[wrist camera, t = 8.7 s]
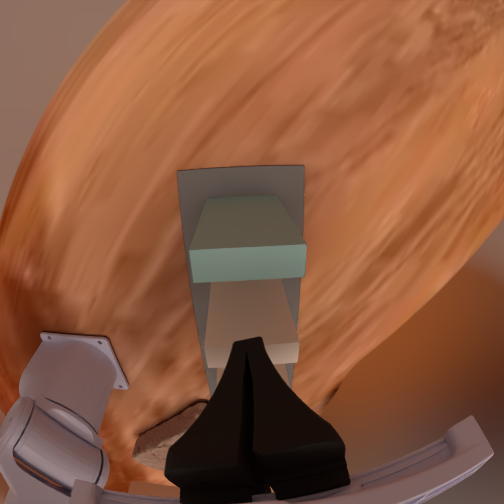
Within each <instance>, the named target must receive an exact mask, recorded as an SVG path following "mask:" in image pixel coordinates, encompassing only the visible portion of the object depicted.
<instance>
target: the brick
mask: <svg viewBox="0 0 504 504" xmlns="http://www.w3.org/2000/svg"><path fill="white" fill-rule="evenodd" d="M206 405H207V404H206V403H197V404H196V405H194V406H191V407H189V408H187V409H186V410H184V411H183V413H181V414H179V415H177V416H175V417H173V418H172V419H170V420H168V421H166V422H164V423H163V424H161V425H159V426H156V427H154V428H153V429H151V430H149V431H148V432H146V433H145V434H143V435H142V436H140V437H139V438H138V439H137V441H136V443H135V447H134V450H133V453H132V458H133V459H134V460H136V461H137V462H139V463H141V464H143V465H145V466H149V467H151V468H155V469H157V470H162V471H165V462H166V457H167V453H168V449H169V448H170V447H171V446H172V445H173V444H174V443H175V442H176V441H177V440H178V439H179V438H180V437H181V436H182V435H183V434H184V433H185V432H186V431H187V430H188V429H189V428H190V426H191V425H192V424H193V423H194V422H195V421H196V419H197V418H198V417H199V415H200V414H201V412H202V411H203V409H204V408H205V407H206Z"/></svg>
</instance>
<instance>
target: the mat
mask: <svg viewBox="0 0 504 504" xmlns="http://www.w3.org/2000/svg"><path fill="white" fill-rule="evenodd" d="M304 171H305V166H304V165H272V166H241V167H221V168H206V169H192V170H181V171H177V179H178V190H179V200H180V210H181V219H182V227H183V236H184V244H185V251H186V259H187V266H188V273H189V280H190V286H191V293H192V299H193V305H194V311H195V317H196V323H197V329H198V334H199V340H200V345H201V350H202V355H203V360H204V365H205V370H206V375H207V380H208V384H209V389H210V394H211V397H212V395H213V393H214V391H215V389H216V387H217V368H208V365H207V360H206V354H205V349H204V346H205V336H206V326H207V316H208V307H209V298H210V289H211V282H204V283H193V276H192V268H191V261H190V253H189V249H190V246H191V243H192V240H193V237H194V234H195V231H196V228H197V225H198V222H199V219H200V216H201V213H202V211H203V208H204V205H205V202H206V199H207V198H222V197H242V196H267V195H277V196H278V198H279V199H280V201H281V203H282V204H283V206H284V207H285V209H286V211H287V212H288V214H289V216H290V217H291V219H292V221H293V222H294V224H295V225H296V227H297V229H298V230H299V232H300V234H301V235H302V237H303V216H304ZM281 281H282V284H283V287H284V290H285V294H286V297H287V301H288V304H289V307H290V311H291V314H292V317H293V321H294V324H295V328H296V331H297V323H298V310H299V296H300V281H301V277H296V278H281ZM285 366H286V371H287V376H288V380H289V385H290V388H291V386H292V377H293V367H294V363H285Z"/></svg>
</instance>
